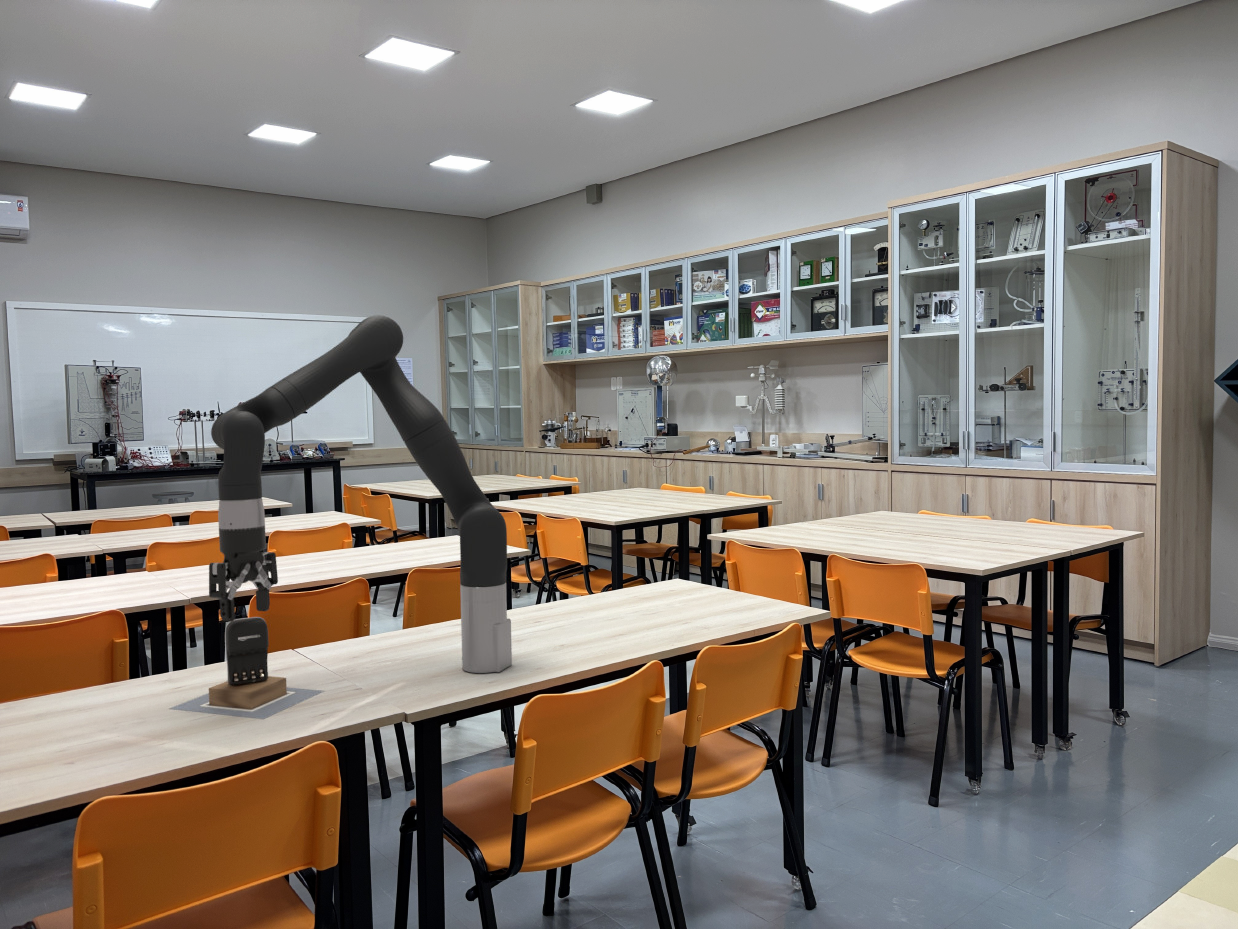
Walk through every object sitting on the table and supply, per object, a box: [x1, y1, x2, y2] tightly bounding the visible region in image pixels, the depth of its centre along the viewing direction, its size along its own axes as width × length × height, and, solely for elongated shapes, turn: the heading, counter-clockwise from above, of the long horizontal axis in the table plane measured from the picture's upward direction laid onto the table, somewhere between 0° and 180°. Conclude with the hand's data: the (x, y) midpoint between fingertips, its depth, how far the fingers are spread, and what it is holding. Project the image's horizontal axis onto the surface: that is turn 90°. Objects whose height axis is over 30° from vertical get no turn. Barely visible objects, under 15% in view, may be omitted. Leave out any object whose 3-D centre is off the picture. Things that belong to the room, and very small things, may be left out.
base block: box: [208, 675, 288, 709], centre depth 155 cm, size 9×9×3 cm
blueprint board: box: [168, 686, 325, 720], centre depth 155 cm, size 20×16×1 cm
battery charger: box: [224, 616, 270, 685], centre depth 154 cm, size 7×4×11 cm, turn 122°
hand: (246, 615), depth 154 cm, fingers open, 8 cm apart
